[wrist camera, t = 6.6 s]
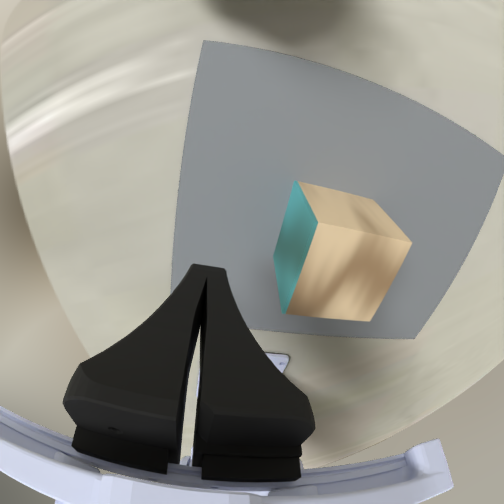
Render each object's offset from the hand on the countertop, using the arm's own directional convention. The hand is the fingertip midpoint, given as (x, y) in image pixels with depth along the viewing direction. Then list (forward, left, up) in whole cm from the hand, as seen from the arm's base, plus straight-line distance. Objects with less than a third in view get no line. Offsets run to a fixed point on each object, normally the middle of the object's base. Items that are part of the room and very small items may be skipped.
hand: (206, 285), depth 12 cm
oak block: (0, -4, -5) cm, 6 cm away
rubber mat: (0, -9, -8) cm, 12 cm away
